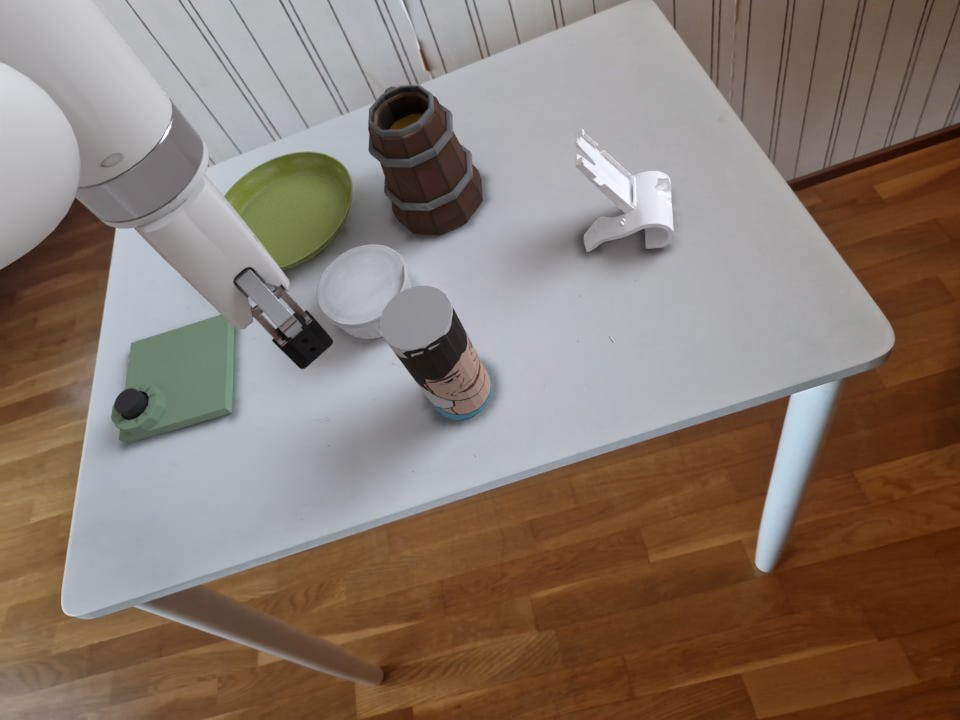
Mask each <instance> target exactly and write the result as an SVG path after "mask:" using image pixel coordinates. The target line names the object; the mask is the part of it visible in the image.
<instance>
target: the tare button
mask: <svg viewBox="0 0 960 720" xmlns="http://www.w3.org/2000/svg"><path fill="white" fill-rule="evenodd" d="M113 405H114V408H115V410H116V411H117V412H118V413H120V414H122V415H123V416H125V417H127V418H129V419H134V418H137V417H139V416H140V415H141V414H142V413H143V412H144V411H145V409H146V408H147V406H148V398H147V397H146V396H145V395H144V394H142V393H141V392H139V391H138V390H136V389H134V388H129V389H126V390H125V389H124V390H122V391H121V392H119V394H118V395H117V396H116V398H115V400H114V403H113Z"/></svg>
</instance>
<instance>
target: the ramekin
mask: <svg viewBox="0 0 960 720" xmlns="http://www.w3.org/2000/svg"><path fill="white" fill-rule="evenodd" d="M410 276H411V275H410V270H409V267H408V265H407V262H406V260H405V259H404V258H403V257H402V255H401V254H400V253H399V252H397V250H395V249H393V248H391V247H390V246H387V245H383V244H376V243H374V244H373V243H370V244H362V245H359V246H355V247H353V248H350V249H348V250H346V251H344V252H343V253H341V254H340V255H338V256H337V257H336V258H335V259H334V260H333V261H331V263H330V264H329V265H328V266H327V267H326V268H325V270H324V271H323V273H322V274H321V276H320V278H319V281H318V285H317V288H316V289H317V290H316V301H317V305H318V307H319V310H320V311H321V313H322V315H323V316H324V317H325V318H326V320H328V321H329V322H330V323H332V324H333V325H334V326H337V327H339V328H340V329H342V331H344V332H346V333H347V334H349V335H350V336H352V337H355V338H357V339H363V340H374V339H379V338H384V337H383V335H382V333H381V330H380V319H381V316H382V312H383V310H384V309H385V307H386V305H387V304H388V302H389V301H390V300H391V299H392V298H394V297H395V296H396V295H397V294H399V293H400V292H402V291H404V290H406V289H408V288H412V287H413V284H412V280H411V278H410Z"/></svg>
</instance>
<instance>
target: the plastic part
mask: <svg viewBox="0 0 960 720" xmlns="http://www.w3.org/2000/svg"><path fill="white" fill-rule="evenodd" d="M574 141H575V142H574V144H575V147H576V148H577V149H578V150H579V151H580V152H581V154H582V155H584V156H585V157H586V158H587V159H586V158H585V157H584V156H582V155H581V154H579V153H577V154H575V155H574V159H575V168H576V169H578V171H580V173H581V174H582V175H583V176H584V177H585V178H586V179H587V180H588V181H589V182H590V183H591V184H592V185H594V186H595V187H596V188H597V189H598V190H599V191H600V192H601V193H603V195H604V196H606V197H607V198H608V199H609V200H610V201H611V202H612V203H613V204H614V205H616V207H618V208H619V209H620V210H621V211H622V212H623V213H622V214H620V215H617V216H613V217H612V216H611V217H609V216H604V215H601V216H599V217H598V218H597V219H595V221H594V222H592V224H591V225H590V227H589V228H588V229H587V230H586V231H585V233H584V234H583V244H584V248H585V251H586V253H589V252H591V251H593V250H595V249H596V248H598V247H599V246H600V245H601V244H603V243H605V242H610V241H614V240H618V239H622V238H625V237H628V236H630V235H633V234H635V233H637V232H639V231H642V230H644V244H645V249H646V250H647V249H648V250H649V249H651V250H652V249H662V248H665V247H666V246H667V247H668V245H670V244H671V243H672V242H673V240H674V237H675V229H674V228H675V227H674V213H673V203H672V180H671V178H670V176H669V175H668V174H666V173H665V172H662V171H660V170H647V171H641V172H639V173H637V174H634V175H633V174H632V173H630V171H628V170H627V169H626V168H625V167H624V166H623V165H622V164H620V163H619V162H618V161H617V160H616V159H615V158H614V157H613V156H612V155H610V154H609V153H608V152H607V151H606V150H605V149H602V150H599V149H597V147H599V144H598V142H596V141H595V140H594V139H593V138H592V137H590V136H589V135H588V134H586V132H585V129H584V128H581V129H580V130H578V131H577V132H575V138H574Z"/></svg>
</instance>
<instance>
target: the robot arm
mask: <svg viewBox="0 0 960 720" xmlns="http://www.w3.org/2000/svg"><path fill="white" fill-rule="evenodd" d="M209 152H210V151H209V148H208V144H206V141H204V139H203V138H202V137H201V135H200V134H199V133H198V132H197V131H196V129H195V128H194V127H193V125H192V124H191V123H190V121H189V120H188V119H187V117H186V116H185V115H184V114H183V112H181V110H180V109H179V107H178V106H177V105H176V104H175V103H174V101H173V100H172V99H171V97H169V95H168V94H167V93H166V91H165V90H164V89H163V87H162V86H161V85H160V84H159V82H158V81H157V80H156V79H155V78H154V76H153V75H152V74H151V73H150V71H149V70H148V69H147V67H146V66H145V65H144V64H143V62H142V61H141V60H140V58H138V56H137V54H135V52H134V51H133V50H132V48H131V47H130V46H129V45H128V44H127V42H126V41H125V39H124V38H123V37H122V36H121V35H120V34H119V32H118V31H117V30H116V28H115V27H114V26H113V25H112V23H111V22H110V21H109V19H108V18H107V17H106V16H105V14H104V13H103V11H101V9H100V8H99V7H98V6H97V5H96V3H95V2H94V0H0V271H1V270H3V269H5V268H6V267H8V266H10V265H11V264H12V263H14V262H16V261H18V260H19V259H21V258H22V257H23V256H25V255H26V254H27V253H29V252H30V251H32V250H34V249H35V248H36V247H37V246H39V244H41V243H42V242H43V241H44V240H46V238H47V237H48V236H49V235H51V233H53V232H54V231H55V229H56V228H57V227H58V226H59V225H60V223H61V222H62V220H63V219H64V218H65V217H66V215H67V214H68V212H69V211H70V208H71V207H72V204H73V203H74V201H75V200H77V201H78V202H79V203H81V204H82V205H83V206H84V207H85V208H86V209H87V210H89V211H90V212H91V213H92V214H93V215H94V216H95V217H97V219H99V220H100V221H101V222H102V223H103V224H105V225H106V226H108V227H112V228H115V229H119V230H120V229H125V230H128V229H134V230H135V231H136V232H137V233H138V235H140V236H141V238H143V240H144V241H145V242H146V243H147V244H148V245H149V246H150V247H151V248H152V249H153V250H154V251H155V252H156V253H157V254H158V255H159V256H160V257H161V258H162V259H163V260H164V261H165V262H166V263H167V264H168V265H169V266H170V267H171V268H172V269H174V270H175V271H176V272H177V273H178V274H179V275H180V276H181V277H182V278H183V279H184V280H185V281H186V282H187V283H188V284H189V285H190V286H191V287H192V288H193V289H194V290H196V291H197V293H198V294H199V295H201V296H202V297H203V299H205V300H206V301H207V302H208V303H209V304H210V305H211V306H212V307H213V308H214V309H215V310H216V311H217V312H218V313H219V315H222V316H223V317H224V318H225V319H226V320H227V321H228V322H229V323H230V324H231V325H232V326H233V327H234V328H235V330H246V329H247V327H249V326H250V325H251V324H253V323H254V319H255V320H256V321H257V322H258V324H259V325H260V326H262V328H263V329H264V330H265V331H266V332H267V333H268V335H270V336H271V337H272V339H271V341H272V343H273V344H274V345H275V346H276V347H277V348H279V350H281V352H283V354H285V356H286V357H288V358H289V359H290V360H291V361H292V362H293V363H294V364H295V365H296V366H297V367H298V369H300V370H305V369H306V368H308V367H309V366H311V364H312V363H313V362H314V361H316V360H317V359H318V358H319V357H321V355H322V354H323V353H325V352H326V351H327V350H328V349H329V348H330V347H331V346H333V344H334V339H333V338H332V337H331V335H330V334H329V332H327V331H326V329H324V328H323V326H322V325H321V324H320V323H319V322H318V321H317V320H316V318H315V317H314V316H313V315H312V313H310V311H308V310H307V309H306V310H304V309H302V307H301V306H300V305H299V304H298V302H296V301H295V300H294V299H293V298H292V296H291V295H290V294H289V293H288V292H290V288H291V282H290V279H289V278H288V277H287V276H286V274H285V272H284V270H281V269H280V267H279V266H278V265H277V263H276V262H275V261H274V259H273V258H272V257H271V255H270V254H269V253H268V251H267V250H266V249H265V247H264V246H263V245H262V243H261V242H260V241H259V239H258V238H257V237H256V236H255V234H254V233H253V232H252V230H251V229H250V228H249V227H248V225H247V224H246V223H245V222H244V220H243V219H242V218H241V217H240V215H239V214H238V213H237V212H236V210H235V209H234V208H233V207H232V206H231V204H230V203H229V202H228V201H227V199H226V198H225V197H224V196H225V195H224V194H223V193H222V192H221V190H220V189H218V187H217V186H216V185H215V183H214V182H213V181H212V180H211V179H210V177H209V176H208V175H207V173H206V172H207V169H208V166H209V162H210V153H209ZM266 284H268V285H272V286H273V288H274V289H273V290H272V291H271V290H270V289H269V287H268V286H267V285H266ZM249 298H250V299H251V300H252V301H253V302H254V304H255V305H254V306H252V305H251V304H250V301H249ZM280 299H282V301H283V302H284V303H285V304H286V305H287V306H288V307H289V309H291V311H293V313H292V312H291V311H290V310H289V309H288V308H287V307H286V306H285V304H284V303H282V301H281V300H280ZM263 314H265V315H266V317H268V319H269V320H271V322H272V323H273V324H274V325H275V326H276V328H275V326H274V325H273V324H272V323H271V322H270V321H269V320H268V319H267V318H266V317H265V316H264V315H263Z"/></svg>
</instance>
